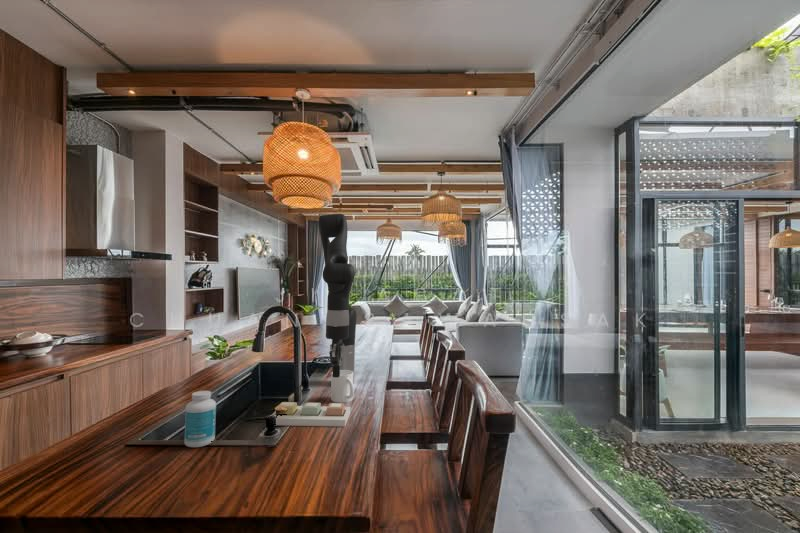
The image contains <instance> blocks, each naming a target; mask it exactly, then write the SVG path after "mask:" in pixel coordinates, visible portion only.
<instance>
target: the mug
mask: <svg viewBox="0 0 800 533" xmlns="http://www.w3.org/2000/svg"><path fill="white" fill-rule="evenodd" d="M332 375H333V371H331V375H330V381H331V382H330V399H331V401H332V403H345V404H346V403H347V404H348V403H349V402H352V401H353V398H354V394H355V386H354V384H353V371H350V370H340V376H339V377H333V376H332Z"/></svg>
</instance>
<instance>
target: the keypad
mask: <svg viewBox="0 0 800 533" xmlns="http://www.w3.org/2000/svg"><path fill="white" fill-rule="evenodd" d="M303 406H304V405H297V410H296V411H295V412H294V413H293V415H282V416H280V415H278V416H277V418H276V425H275V426H294V427H295V426H297V427H298V426H301V427H304V426H305V427H346V425H347V423H348V420H349V417H350V416H351V406H345V411H344V413H343V415H342V416H327V407H328V405H326V406H325V405H323V406H322V405H321V410H320V412H319V413H318V415H302V407H303ZM271 415H276V410H275V411H274V412H273V413H272V414H271Z"/></svg>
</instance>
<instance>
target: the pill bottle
mask: <svg viewBox="0 0 800 533" xmlns="http://www.w3.org/2000/svg"><path fill="white" fill-rule="evenodd" d="M211 397H212V391H211V390H198V391H195V392H192V394H191V401H189V402H188V403H187V404H186V406H185V418H184V420H185V421H184V439H183V440H184V442H183V443H184V445H185V446H186V447H188V448H201V447H205V446H207V445H210V444H211V443H213V442H214V441H215V438H216V420H217V419H216V417H217V402H216V401H215V399H213V398H211ZM211 441H213V442H211Z"/></svg>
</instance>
